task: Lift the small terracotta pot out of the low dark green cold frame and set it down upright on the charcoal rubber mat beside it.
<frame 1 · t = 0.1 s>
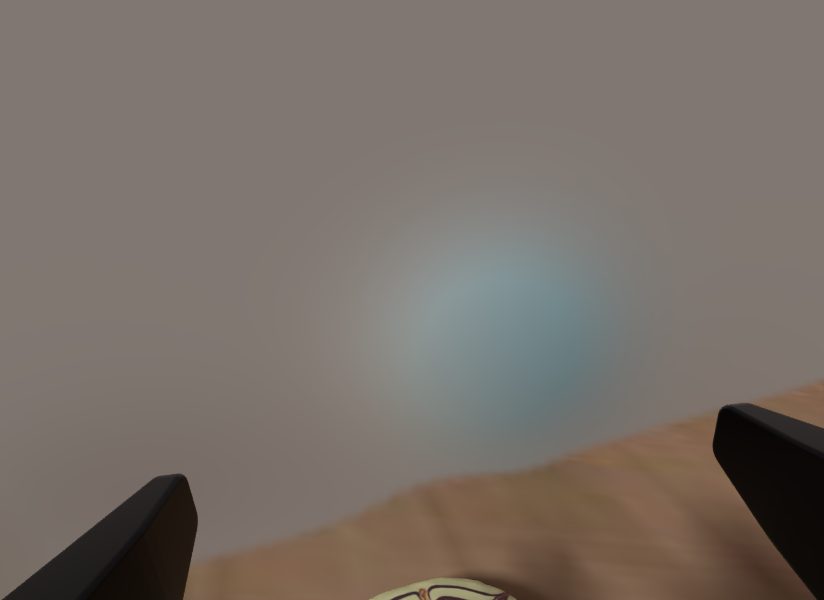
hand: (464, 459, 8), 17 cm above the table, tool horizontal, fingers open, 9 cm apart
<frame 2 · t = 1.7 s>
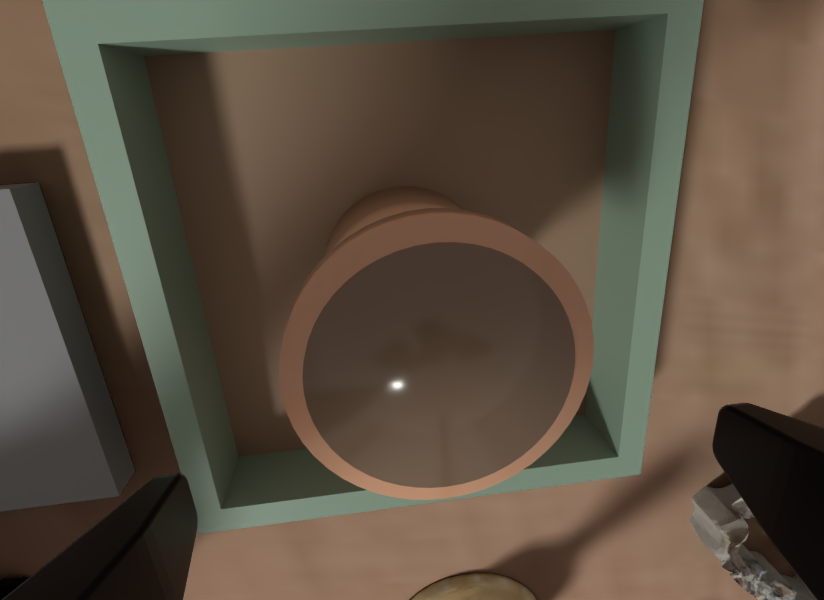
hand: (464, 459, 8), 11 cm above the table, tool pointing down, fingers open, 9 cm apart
egg carton: (772, 506, 27), on the table
terracotta pot: (405, 268, 18), point 1 cm above the table, touching cold frame
cold frame: (403, 263, 19), on the table
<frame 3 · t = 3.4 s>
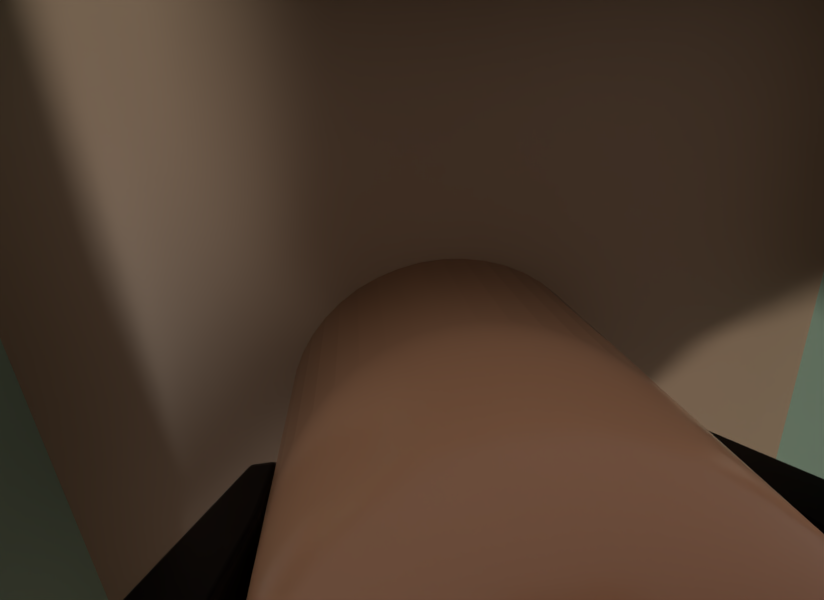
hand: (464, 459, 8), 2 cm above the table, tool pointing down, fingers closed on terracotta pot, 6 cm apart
terracotta pot: (447, 405, 10), point 1 cm above the table, touching cold frame, gripper
cold frame: (442, 389, 10), on the table
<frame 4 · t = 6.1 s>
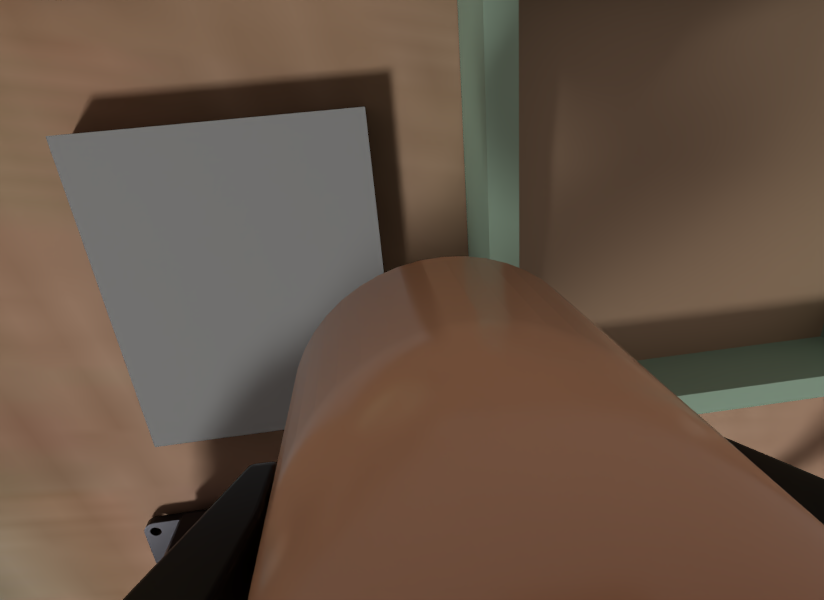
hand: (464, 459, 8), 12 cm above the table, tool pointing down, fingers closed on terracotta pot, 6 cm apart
rubber mat: (256, 281, 19), on the table
terracotta pot: (448, 403, 10), point 11 cm above the table, touching gripper
cold frame: (675, 185, 20), on the table
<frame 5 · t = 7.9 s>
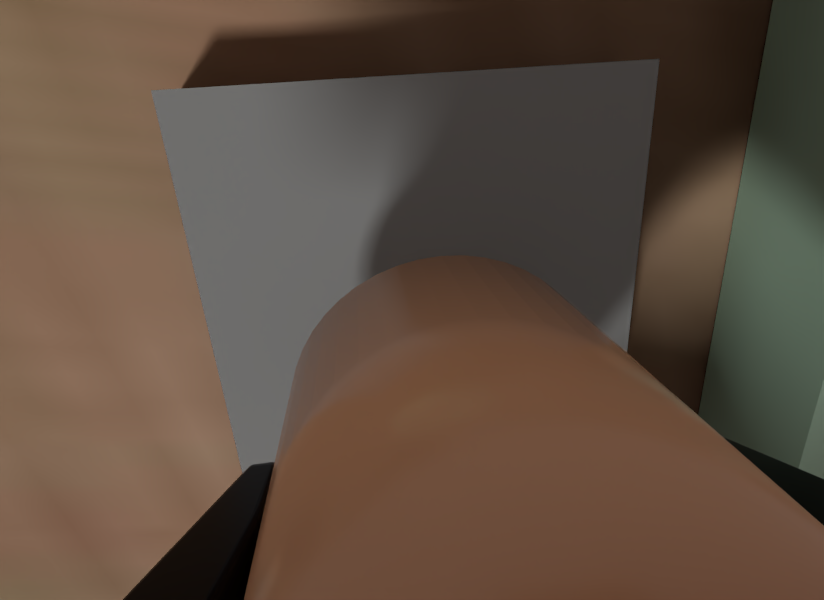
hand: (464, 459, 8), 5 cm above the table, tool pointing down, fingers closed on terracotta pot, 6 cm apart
rubber mat: (422, 322, 13), on the table
terracotta pot: (447, 403, 10), point 4 cm above the table, touching gripper
when the fingers open (5 cm above the table, at t = 9.0 s): terracotta pot drops 1 cm, resting on rubber mat.
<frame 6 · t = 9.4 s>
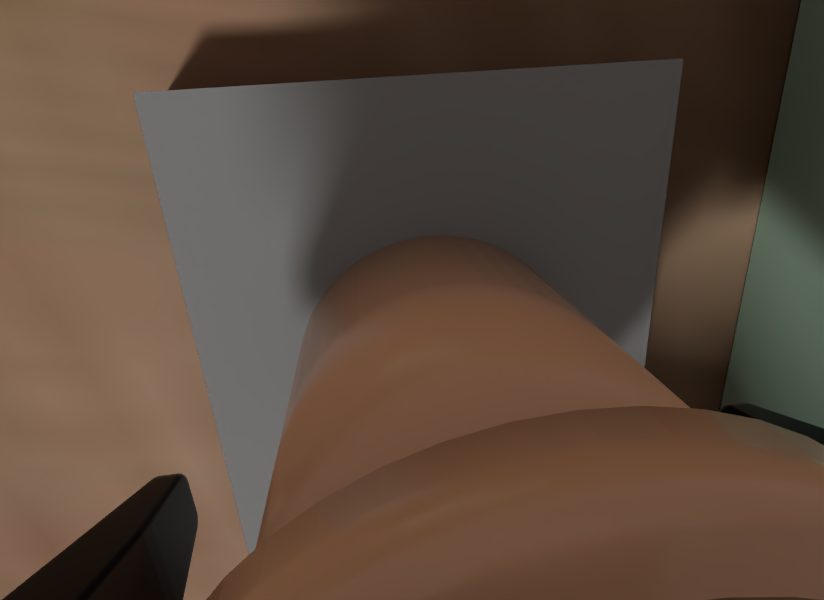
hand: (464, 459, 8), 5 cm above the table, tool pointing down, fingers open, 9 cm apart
rubber mat: (426, 338, 12), on the table
terracotta pot: (435, 366, 11), point 2 cm above the table, touching rubber mat
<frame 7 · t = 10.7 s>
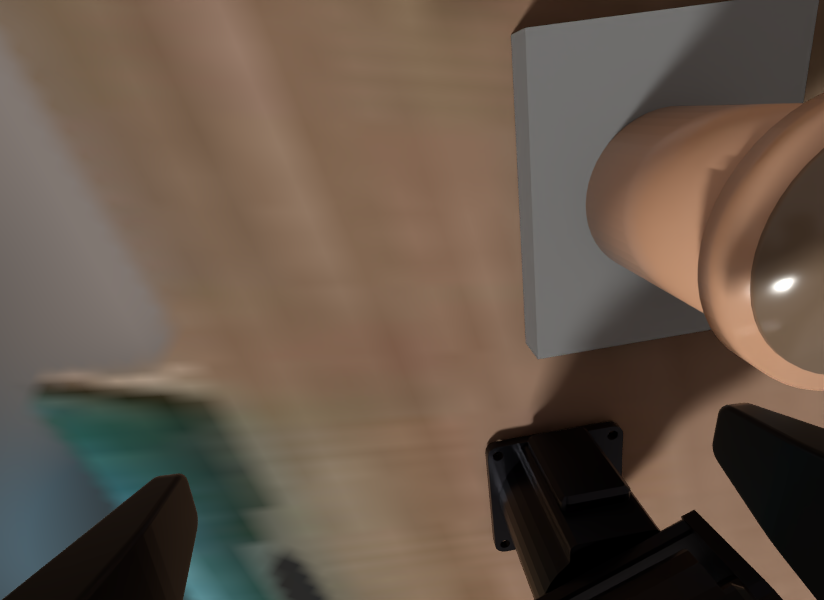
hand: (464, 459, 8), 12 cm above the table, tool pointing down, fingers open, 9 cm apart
rubber mat: (641, 188, 19), on the table
terracotta pot: (664, 193, 18), point 2 cm above the table, touching rubber mat
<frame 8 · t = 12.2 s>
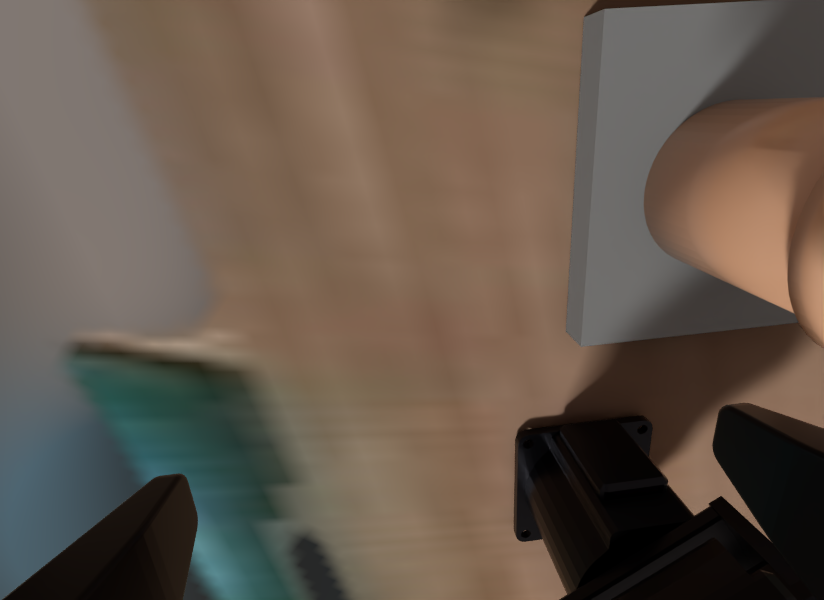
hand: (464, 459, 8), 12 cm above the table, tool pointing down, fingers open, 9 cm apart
rubber mat: (694, 182, 20), on the table
terracotta pot: (721, 186, 18), point 2 cm above the table, touching rubber mat
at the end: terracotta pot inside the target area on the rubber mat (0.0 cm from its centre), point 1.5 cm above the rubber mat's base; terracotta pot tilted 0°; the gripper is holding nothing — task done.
